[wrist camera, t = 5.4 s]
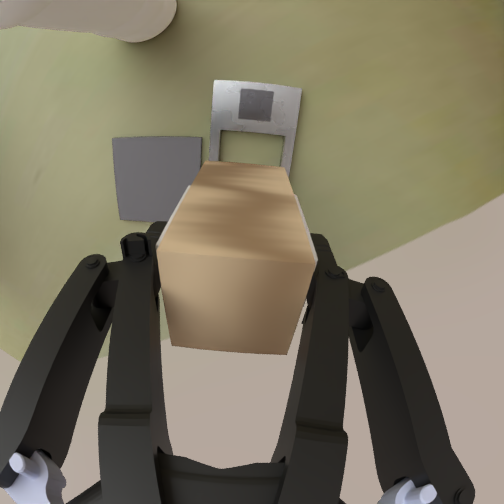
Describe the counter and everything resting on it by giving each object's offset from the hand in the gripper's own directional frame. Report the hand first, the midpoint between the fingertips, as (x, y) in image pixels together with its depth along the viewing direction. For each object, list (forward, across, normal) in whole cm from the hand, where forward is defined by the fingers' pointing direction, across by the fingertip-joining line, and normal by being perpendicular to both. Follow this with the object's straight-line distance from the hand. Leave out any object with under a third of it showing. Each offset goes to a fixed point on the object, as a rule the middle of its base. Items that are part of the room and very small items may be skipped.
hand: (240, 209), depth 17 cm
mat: (+12, -10, -3) cm, 16 cm away
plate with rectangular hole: (+12, 0, 0) cm, 12 cm away
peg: (+2, 0, 0) cm, 2 cm away
